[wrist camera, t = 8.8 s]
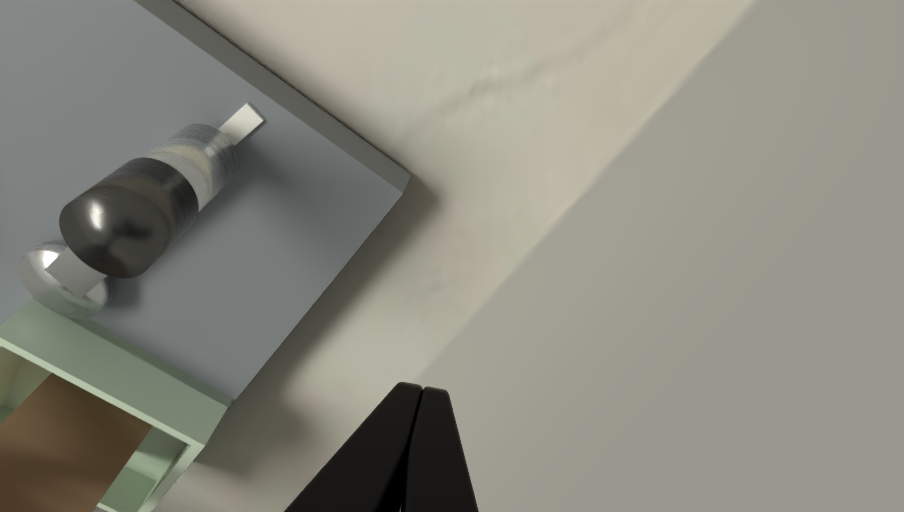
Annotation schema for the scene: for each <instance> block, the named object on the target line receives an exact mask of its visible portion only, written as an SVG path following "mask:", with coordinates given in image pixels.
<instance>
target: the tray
mask: <svg viewBox="0 0 904 512" xmlns="http://www.w3.org/2000/svg"><path fill="white" fill-rule="evenodd" d="M51 373H54V374H56V375H58V376H60V377H62V378H64V379H65V380H67V381H69V382H71V383H73V384H75V385H77V386H79V387H81V388H83V389H84V390H86V391H88V392H90V393H92V394H94V395H96V396H98V397H100V398H102V399H104V400H105V401H107V402H109V403H111V404H113V405H115V406H117V407H119V408H121V409H123V410H124V411H126V412H128V413H130V414H132V415H134V416H136V417H138V418H140V419H142V420H143V421H145V422H147V423H149V424H151V425H153V426H152V428H151V429H150V431H149V432H148V433H147V435H146V436H145V438H144V439H143V441H142V442H141V444H140V445H139V446H138V448H137V449H136V451H135V452H134V454H133V455H132V456H131V458H130V459H129V461H128V462H127V463H126V465H125V466H124V468H123V469H122V470H121V472H120V473H119V475H118V476H117V478H116V479H115V480H114V482H113V483H112V485H111V486H110V487H109V489H108V490H107V492H106V493H105V494H104V496H103V497H102V499H101V500H100V502H99V503H98V504H97V507H99V508H101V509H104V510H106V511H108V512H151V511H152V509H153V508H154V507H155V506H156V505H157V503H158V502H159V501H160V500H161V499H162V497H163V496H164V495H165V494H166V492H167V491H168V490H169V489H170V488H171V486H172V485H173V484H174V483H175V482H176V480H177V479H178V478H179V477H180V476H181V474H182V473H183V472H184V471H185V469H186V468H187V467H188V466H189V465H190V463H191V462H192V461H193V460H194V459H195V457H196V456H197V455H198V454H199V453H200V451H201V450H202V449H203V448H204V447H205V445H206V443H207V442H208V440H209V438H210V437H211V435H212V433H213V432H214V430H215V428H216V427H217V425H218V423H219V422H220V420H221V418H222V416H223V415H224V413H225V411H226V410H227V408H228V406H229V405H230V403H231V401H232V400H233V399H231V398H229V397H227V396H225V395H224V394H222V393H220V392H218V391H216V390H215V389H213V388H211V387H209V386H207V385H206V384H204V383H202V382H200V381H199V380H197V379H195V378H193V377H191V376H190V375H188V374H186V373H184V372H182V371H181V370H179V369H177V368H175V367H173V366H172V365H170V364H168V363H166V362H164V361H163V360H161V359H159V358H157V357H156V356H154V355H152V354H150V353H148V352H147V351H145V350H143V349H141V348H139V347H138V346H136V345H134V344H132V343H130V342H129V341H127V340H125V339H123V338H121V337H120V336H118V335H116V334H114V333H112V332H111V331H109V330H107V329H105V328H104V327H102V326H100V325H98V324H96V323H95V322H93V321H91V320H89V319H87V318H85V319H76V318H70V317H66V316H63V315H60V314H58V313H55V312H53V311H51V310H50V309H48V308H46V307H45V306H43V305H42V304H41V303H39V302H38V301H37V300H36V299H35V298H32V299H31V300H30V301H29V302H28V303H26V304H25V305H24V306H23V307H22V308H20V309H19V310H18V311H17V312H16V313H14V314H13V315H12V316H11V317H10V318H8V319H7V320H6V321H5V322H4V323H2V324H1V325H0V425H1V424H2V423H3V422H4V421H5V420H6V419H7V418H8V417H9V416H10V415H11V414H12V413H13V412H14V411H15V410H16V409H17V407H18V406H19V405H20V404H21V403H22V402H23V401H24V400H25V399H26V398H27V397H28V396H29V395H30V394H31V393H32V392H33V391H34V390H35V389H36V388H37V387H38V386H39V385H40V384H41V383H42V382H43V381H44V380H45V379H46V378H47V377H48V376H49V375H50V374H51Z"/></svg>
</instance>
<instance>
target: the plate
mask: <svg viewBox="0 0 904 512" xmlns="http://www.w3.org/2000/svg"><path fill="white" fill-rule="evenodd" d="M196 123H199V124H206V125H209V126H212V127H214V128H216V129H217V130H219V131H220V132H222V133H223V134H224V135H225V136H226V137H227V138H228V139H229V140H230V141H231V142H232V144H233V145H234V147H235V149H236V151H237V154H238V158H239V168H238V171H237V174H236V175H235V177H234V178H233V179H232V180H231V181H230V182H229V183H228V184H227V185H226V186H225V187H224V188H223V189H222V190H221V191H220V192H219V193H218V194H217V195H216V196H215V197H213V198H212V199H211V200H210V201H209V202H208V203H207V204H206V205H205V206H204V207H203V208H202V209H201V210H200V211H199V212H198V216H197V219H196V220H195V222H194V223H193V224H192V225H191V226H190V227H189V228H188V229H187V230H186V231H185V232H184V233H183V234H182V235H181V236H180V237H179V238H178V239H177V240H176V241H175V242H174V243H173V244H172V245H171V246H170V247H169V248H168V249H167V250H166V251H165V252H164V253H163V254H162V255H161V256H160V257H159V258H158V259H157V260H156V261H155V262H154V263H153V264H152V265H151V266H150V267H149V268H148V269H147V270H146V271H145V272H144V273H143V274H141V275H140V276H137V277H134V278H127V279H125V278H115V277H111V276H109V277H110V279H111V281H112V285H113V295H112V298H111V299H110V301H109V302H108V303H107V304H106V305H105V306H104V307H103V308H102V309H101V310H100V311H99V312H98V313H97V314H95V315H94V316H92V317H90V318H87V319H89V320H91V321H93V322H95V323H96V324H98V325H100V326H102V327H104V328H105V329H107V330H109V331H111V332H112V333H114V334H116V335H118V336H120V337H121V338H123V339H125V340H127V341H129V342H130V343H132V344H134V345H136V346H138V347H139V348H141V349H143V350H145V351H147V352H148V353H150V354H152V355H154V356H156V357H157V358H159V359H161V360H163V361H164V362H166V363H168V364H170V365H172V366H173V367H175V368H177V369H179V370H181V371H182V372H184V373H186V374H188V375H190V376H191V377H193V378H195V379H197V380H199V381H200V382H202V383H204V384H206V385H207V386H209V387H211V388H213V389H215V390H216V391H218V392H220V393H222V394H224V395H225V396H227V397H229V398H231V399H233V400H232V401H231V403H230V405H229V406H228V408H227V410H228V409H229V407H230V406H231V405H232V404H233V402H234V401H235V400H236V399H237V397H238V396H239V395H240V394H241V393H242V391H243V390H244V389H245V388H246V386H247V385H248V384H249V383H250V381H251V380H252V379H253V378H254V377H255V375H256V374H257V373H258V372H259V370H260V369H261V368H262V367H263V365H264V364H265V363H266V362H267V361H268V359H269V358H270V357H271V356H272V354H273V353H274V352H275V351H276V349H277V348H278V347H279V346H280V345H281V343H282V342H283V341H284V340H285V338H286V337H287V336H288V335H289V333H290V332H291V331H292V330H293V329H294V327H295V326H296V325H297V324H298V322H299V321H300V320H301V319H302V317H303V316H304V315H305V314H306V313H307V311H308V310H309V309H310V308H311V306H312V305H313V304H314V303H315V301H316V300H317V299H318V298H319V297H320V295H321V294H322V293H323V292H324V290H325V289H326V288H327V287H328V286H329V284H330V283H331V282H332V281H333V279H334V278H335V277H336V276H337V274H338V273H339V272H340V271H341V270H342V268H343V267H344V266H345V265H346V263H347V262H348V261H349V260H350V258H351V257H352V256H353V255H354V254H355V252H356V251H357V250H358V249H359V247H360V246H361V245H362V244H363V242H364V241H365V240H366V239H367V238H368V236H369V235H370V234H371V233H372V231H373V230H374V229H375V228H376V226H377V225H378V224H379V223H380V222H381V220H382V219H383V218H384V217H385V215H386V214H387V213H388V212H389V210H390V209H391V208H392V207H393V206H394V204H395V203H396V202H397V201H398V199H399V198H400V197H401V196H402V194H403V193H404V191H405V189H406V186H407V184H408V182H409V180H410V177H411V174H410V173H408V172H407V171H406V170H404V169H403V168H401V167H400V166H399V165H397V164H396V163H395V162H393V161H392V160H390V159H389V158H388V157H386V156H385V155H384V154H382V153H381V152H379V151H378V150H377V149H375V148H374V147H373V146H371V145H370V144H368V143H367V142H366V141H364V140H363V139H362V138H360V137H359V136H357V135H356V134H355V133H353V132H352V131H351V130H349V129H348V128H346V127H345V126H344V125H342V124H341V123H340V122H338V121H337V120H336V119H334V118H333V117H331V116H330V115H329V114H327V113H326V112H325V111H323V110H322V109H320V108H319V107H318V106H316V105H315V104H314V103H312V102H311V101H309V100H308V99H307V98H305V97H304V96H303V95H301V94H300V93H298V92H297V91H296V90H294V89H293V88H292V87H290V86H289V85H287V84H286V83H285V82H283V81H282V80H281V79H279V78H278V77H276V76H275V75H274V74H272V73H271V72H270V71H268V70H267V69H265V68H264V67H263V66H261V65H260V64H259V63H257V62H256V61H255V60H253V59H252V58H250V57H249V56H248V55H246V54H245V53H244V52H242V51H241V50H239V49H238V48H237V47H235V46H234V45H233V44H231V43H230V42H228V41H227V40H226V39H224V38H223V37H222V36H220V35H219V34H217V33H216V32H215V31H213V30H212V29H211V28H209V27H208V26H206V25H205V24H204V23H202V22H201V21H200V20H198V19H197V18H195V17H194V16H193V15H191V14H190V13H189V12H187V11H186V10H184V9H183V8H182V7H180V6H179V5H178V4H176V3H175V2H173V1H172V0H0V325H1V324H2V323H4V322H5V321H6V320H7V319H8V318H10V317H11V316H12V315H13V314H14V313H16V312H17V311H18V310H19V309H20V308H22V307H23V306H24V305H25V304H26V303H28V302H29V301H30V300H31V299H32V298H34V297H33V296H32V295H31V294H30V293H29V292H28V291H27V289H26V288H25V286H24V285H23V283H22V281H21V279H20V276H19V271H18V266H19V262H20V260H21V259H22V257H23V256H25V255H26V254H27V253H28V252H30V251H31V250H33V249H34V248H35V247H37V246H38V245H39V244H41V243H43V242H47V241H60V242H65V240H64V239H63V236H62V234H61V231H60V227H59V217H60V213H61V211H62V209H63V208H64V206H65V205H67V204H68V203H69V202H71V201H72V200H73V199H75V198H76V197H78V196H79V195H81V194H82V193H83V192H85V191H86V190H88V189H89V188H91V187H92V186H93V185H95V184H96V183H98V182H99V181H101V180H102V179H103V178H105V177H106V176H108V175H109V174H111V173H112V172H113V171H115V170H116V169H118V168H119V167H121V166H122V165H123V164H125V163H126V162H128V161H130V160H132V159H135V158H141V157H143V156H144V155H146V154H147V153H148V152H150V151H151V150H153V149H154V148H155V147H157V146H158V145H160V144H161V143H163V142H164V141H165V140H167V139H168V138H170V137H171V136H172V135H174V134H175V133H177V132H178V131H179V130H181V129H182V128H184V127H185V126H187V125H190V124H196ZM65 243H66V242H65ZM227 410H226V411H227ZM226 411H225V412H226Z"/></svg>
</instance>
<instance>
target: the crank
mask: <svg viewBox="0 0 904 512" xmlns="http://www.w3.org/2000/svg"><path fill="white" fill-rule="evenodd" d="M238 168H239V158H238V154H237V151H236V149H235V147H234V145H233V144H232V142H231V141H230V140H229V139H228V138H227V137H226V136H225V135H224V134H223V133H222V132H220V131H219V130H217V129H216V128H214V127H212V126H209V125H206V124H199V123H196V124H190V125H187V126H185V127H184V128H182V129H181V130H179V131H178V132H177V133H175V134H174V135H172V136H171V137H170V138H168V139H167V140H165V141H164V142H163V143H161V144H160V145H158V146H157V147H155V148H154V149H153V150H151V151H150V152H148V153H147V154H146V155H144V156H143V157H141V158H135V159H132V160H130V161H128V162H126V163H125V164H123V165H122V166H121V167H119V168H118V169H116V170H115V171H113V172H112V173H111V174H109V175H108V176H106V177H105V178H103V179H102V180H101V181H99V182H98V183H96V184H95V185H93V186H92V187H91V188H89V189H88V190H86V191H85V192H83V193H82V194H81V195H79V196H78V197H76V198H75V199H73V200H72V201H71V202H69V203H68V204H67V205H65V206H64V208H63V209H62V211H61V213H60V217H59V227H60V231H61V234H62V236H63V239H64V240H65V242H66V243H65V242H60V241H47V242H43V243H41V244H39V245H38V246H37V247H35V248H34V249H33V250H31V251H30V252H28V253H27V254H26V255H25V256H23V257H22V259H21V260H20V262H19V266H18V271H19V276H20V279H21V281H22V283H23V285H24V286H25V288H26V289H27V291H28V292H29V293H30V294H31V295H32V296H33V297H34V298H35V299H36V300H37V301H38V302H39V303H41V304H42V305H43V306H45V307H46V308H48V309H50V310H51V311H53V312H55V313H58V314H60V315H63V316H66V317H70V318H76V319H85V318H90V317H92V316H94V315H95V314H97V313H98V312H99V311H100V310H101V309H102V308H103V307H104V306H105V305H106V304H107V303H108V302H109V301H110V299H111V298H112V295H113V285H112V281H111V279H110V277H109V276H111V277H115V278H125V279H127V278H134V277H137V276H140V275H141V274H143V273H144V272H145V271H146V270H147V269H148V268H149V267H150V266H151V265H152V264H153V263H154V262H155V261H156V260H157V259H158V258H159V257H160V256H161V255H162V254H163V253H164V252H165V251H166V250H167V249H168V248H169V247H170V246H171V245H172V244H173V243H174V242H175V241H176V240H177V239H178V238H179V237H180V236H181V235H182V234H183V233H184V232H185V231H186V230H187V229H188V228H189V227H190V226H191V225H192V224H193V223H194V222H195V220H196V219H197V216H198V212H199V211H200V210H201V209H202V208H203V207H204V206H205V205H206V204H207V203H208V202H209V201H210V200H211V199H212V198H213V197H215V196H216V195H217V194H218V193H219V192H220V191H221V190H222V189H223V188H224V187H225V186H226V185H227V184H228V183H229V182H230V181H231V180H232V179H233V178H234V177H235V175H236V174H237V171H238Z"/></svg>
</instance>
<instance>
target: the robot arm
mask: <svg viewBox="0 0 904 512" xmlns="http://www.w3.org/2000/svg"><path fill="white" fill-rule="evenodd" d="M400 510H401V512H479V511H478V507H477V504H476V499H475V495H474V491H473V488H472V484H471V480H470V476H469V472H468V468H467V464H466V460H465V456H464V452H463V448H462V444H461V440H460V436H459V432H458V428H457V424H456V420H455V417H454V413H453V408H452V404H451V401H450V397H449V394H448V392H447V391H446V390H444V389H439V388H433V387H425V388H424V389H422V387H421V386H420V385H417V384H412V383H406V382H399V383H398V384H397V385H396V386H395V387H394V388H393V389H392V390H391V391H390V392H389V393H388V395H387V396H386V397H385V398H384V399H383V400H382V401H381V403H380V404H379V405H378V406H377V407H376V408H375V409H374V410H373V412H372V413H371V414H370V415H369V416H368V417H367V418H366V419H365V421H364V422H363V423H362V424H361V425H360V426H359V427H358V428H357V430H356V431H355V432H354V433H353V434H352V435H351V436H350V438H349V439H348V440H347V441H346V442H345V443H344V444H343V445H342V447H341V448H340V449H339V450H338V451H337V452H336V453H335V454H334V456H333V457H332V458H331V459H330V460H329V461H328V462H327V464H326V465H325V466H324V467H323V468H322V469H321V470H320V471H319V473H318V474H317V475H316V476H315V477H314V478H313V479H312V480H311V482H310V483H309V484H308V485H307V486H306V487H305V488H304V489H303V491H302V492H301V493H300V494H299V495H298V496H297V497H296V499H295V500H294V501H293V502H292V503H291V504H290V505H289V506H288V508H287V509H286V510H285V511H284V512H400Z"/></svg>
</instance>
